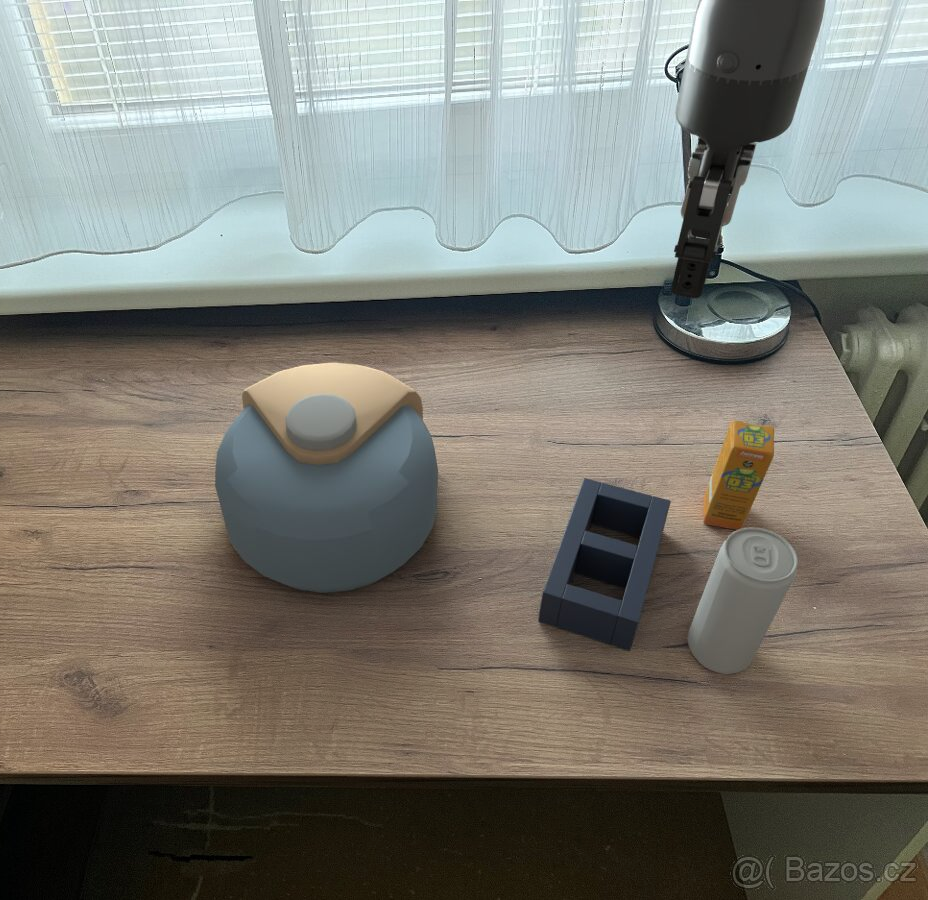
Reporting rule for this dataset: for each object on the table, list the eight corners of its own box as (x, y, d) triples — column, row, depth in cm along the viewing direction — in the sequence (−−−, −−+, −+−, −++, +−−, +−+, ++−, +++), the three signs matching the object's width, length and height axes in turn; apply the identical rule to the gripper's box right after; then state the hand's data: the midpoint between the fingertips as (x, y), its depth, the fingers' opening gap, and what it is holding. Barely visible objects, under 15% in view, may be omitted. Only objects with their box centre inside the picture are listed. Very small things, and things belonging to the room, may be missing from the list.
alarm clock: (438, 435, 86) (439, 338, 77) (435, 607, 72) (436, 511, 63) (247, 433, 88) (227, 338, 80) (208, 598, 74) (180, 505, 66)
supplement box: (701, 526, 75) (729, 445, 68) (702, 497, 78) (730, 415, 70) (742, 534, 74) (776, 452, 67) (743, 504, 77) (775, 422, 70)
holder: (662, 530, 75) (671, 500, 73) (629, 651, 68) (638, 622, 65) (578, 507, 78) (584, 477, 75) (537, 621, 70) (542, 592, 67)
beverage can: (751, 629, 68) (797, 532, 59) (753, 684, 65) (803, 588, 56) (685, 617, 69) (721, 520, 61) (685, 670, 66) (722, 575, 57)
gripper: (800, 104, 51) (733, 326, 63) (821, 17, 60) (758, 225, 72) (667, 91, 54) (626, 305, 66) (706, 9, 63) (663, 211, 74)
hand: (695, 263), depth 69 cm, fingers open, 8 cm apart
